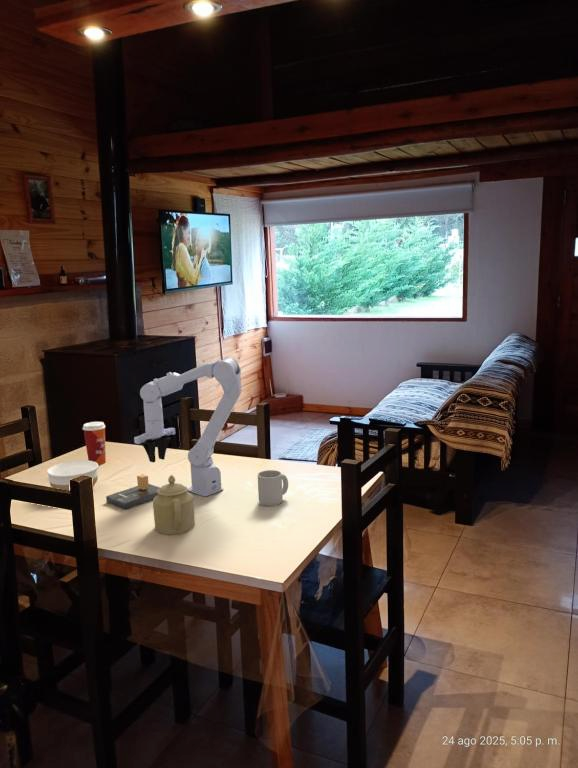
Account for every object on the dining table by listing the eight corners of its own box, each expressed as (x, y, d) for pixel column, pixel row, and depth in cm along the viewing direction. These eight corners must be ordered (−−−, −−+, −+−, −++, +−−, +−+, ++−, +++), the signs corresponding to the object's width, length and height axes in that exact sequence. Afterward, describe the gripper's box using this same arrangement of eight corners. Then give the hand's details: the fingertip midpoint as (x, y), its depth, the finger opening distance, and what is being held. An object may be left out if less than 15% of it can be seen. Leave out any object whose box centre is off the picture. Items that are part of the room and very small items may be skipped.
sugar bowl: (211, 529, 174) (208, 477, 172) (178, 542, 167) (174, 488, 164) (180, 515, 185) (176, 466, 182) (147, 527, 177) (143, 476, 175)
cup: (254, 501, 194) (253, 473, 192) (282, 494, 199) (281, 466, 198) (266, 508, 188) (265, 479, 186) (294, 500, 193) (293, 472, 192)
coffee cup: (105, 465, 234) (101, 426, 231) (82, 466, 234) (78, 427, 231) (111, 459, 242) (108, 420, 239) (90, 459, 242) (86, 421, 240)
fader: (148, 488, 202) (147, 476, 201) (143, 490, 201) (142, 477, 200) (143, 486, 204) (142, 474, 203) (138, 488, 203) (136, 475, 202)
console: (165, 495, 202) (165, 489, 201) (125, 509, 191) (124, 503, 190) (146, 488, 208) (146, 482, 208) (106, 502, 197) (106, 496, 197)
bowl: (80, 479, 220) (78, 457, 218) (110, 487, 211) (108, 464, 209) (39, 493, 207) (36, 470, 206) (69, 503, 198) (66, 478, 197)
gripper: (164, 413, 211) (167, 452, 213) (127, 422, 200) (130, 463, 203) (178, 416, 206) (180, 456, 208) (140, 425, 195) (143, 467, 198)
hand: (157, 460), depth 205 cm, fingers open, 3 cm apart
